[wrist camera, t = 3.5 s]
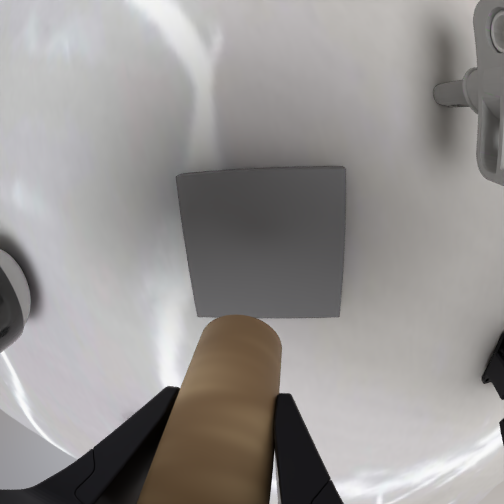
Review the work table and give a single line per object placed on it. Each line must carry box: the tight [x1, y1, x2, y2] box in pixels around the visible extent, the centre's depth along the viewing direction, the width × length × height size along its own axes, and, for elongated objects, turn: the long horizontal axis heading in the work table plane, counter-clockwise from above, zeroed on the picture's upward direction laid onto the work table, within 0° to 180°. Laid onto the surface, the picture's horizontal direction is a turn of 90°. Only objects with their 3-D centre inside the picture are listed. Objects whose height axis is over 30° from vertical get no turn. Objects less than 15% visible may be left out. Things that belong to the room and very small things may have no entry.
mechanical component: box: [433, 0, 504, 186], centre depth 10 cm, size 3×10×10 cm, turn 0°
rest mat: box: [176, 166, 346, 318], centre depth 20 cm, size 10×10×1 cm
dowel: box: [137, 315, 282, 504], centre depth 8 cm, size 3×3×7 cm
